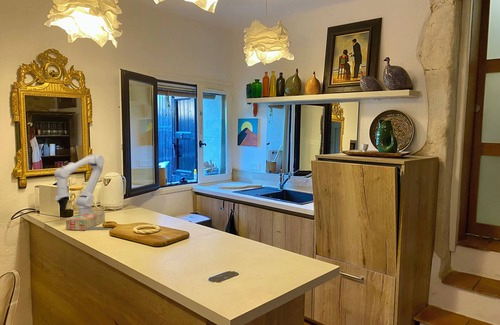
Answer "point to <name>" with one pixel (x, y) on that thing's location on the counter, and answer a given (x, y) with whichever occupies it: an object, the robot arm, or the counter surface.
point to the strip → (96, 228)
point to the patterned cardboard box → (85, 221)
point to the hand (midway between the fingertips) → (63, 209)
